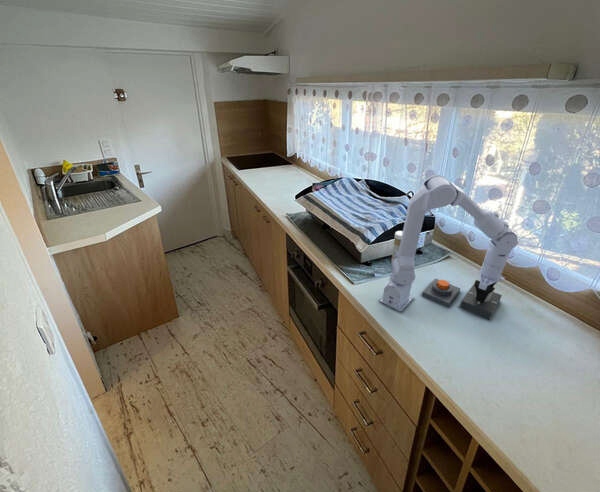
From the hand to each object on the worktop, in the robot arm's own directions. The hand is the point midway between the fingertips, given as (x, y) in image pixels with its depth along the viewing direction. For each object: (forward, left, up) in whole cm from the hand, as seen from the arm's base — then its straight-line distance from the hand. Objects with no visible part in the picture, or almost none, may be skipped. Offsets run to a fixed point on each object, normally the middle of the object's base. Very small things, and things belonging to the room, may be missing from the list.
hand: (482, 296), depth 102 cm
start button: (-3, +12, 0) cm, 12 cm away
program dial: (0, 0, 0) cm, 0 cm away
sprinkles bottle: (+6, +34, -4) cm, 35 cm away
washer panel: (0, 0, -3) cm, 3 cm away
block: (-3, +12, -3) cm, 13 cm away
